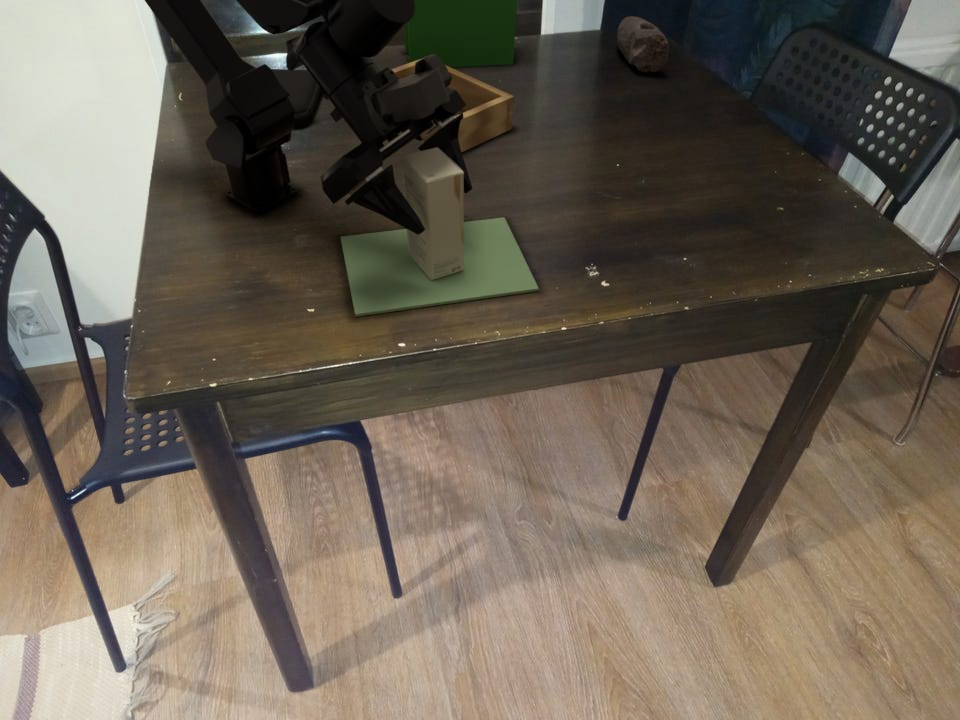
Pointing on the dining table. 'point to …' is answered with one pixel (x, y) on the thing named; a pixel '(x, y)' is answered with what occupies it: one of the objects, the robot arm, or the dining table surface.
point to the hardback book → (462, 32)
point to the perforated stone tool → (642, 44)
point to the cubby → (475, 107)
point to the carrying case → (299, 92)
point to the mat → (403, 284)
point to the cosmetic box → (435, 211)
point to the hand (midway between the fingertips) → (446, 211)
